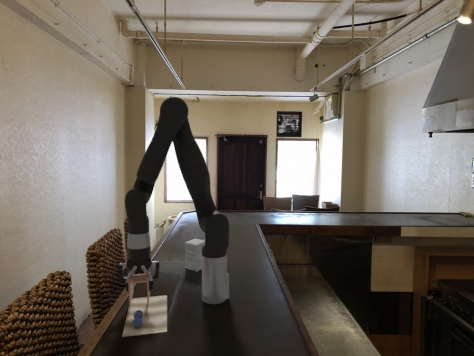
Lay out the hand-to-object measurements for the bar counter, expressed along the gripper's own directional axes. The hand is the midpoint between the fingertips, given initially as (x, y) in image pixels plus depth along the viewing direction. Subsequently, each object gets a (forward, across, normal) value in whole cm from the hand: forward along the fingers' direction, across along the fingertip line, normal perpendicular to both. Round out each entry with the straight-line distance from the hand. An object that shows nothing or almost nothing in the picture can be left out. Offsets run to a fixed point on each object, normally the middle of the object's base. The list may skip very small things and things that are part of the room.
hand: (139, 291), depth 113 cm
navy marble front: (+4, 0, +14) cm, 14 cm away
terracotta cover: (+2, 0, 0) cm, 2 cm away
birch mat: (+6, -3, +6) cm, 9 cm away
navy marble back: (+4, 0, +9) cm, 10 cm away
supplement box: (+6, -23, -33) cm, 41 cm away
